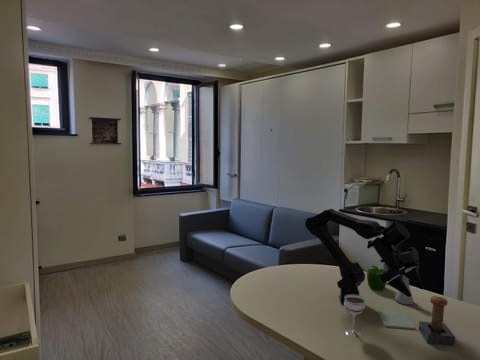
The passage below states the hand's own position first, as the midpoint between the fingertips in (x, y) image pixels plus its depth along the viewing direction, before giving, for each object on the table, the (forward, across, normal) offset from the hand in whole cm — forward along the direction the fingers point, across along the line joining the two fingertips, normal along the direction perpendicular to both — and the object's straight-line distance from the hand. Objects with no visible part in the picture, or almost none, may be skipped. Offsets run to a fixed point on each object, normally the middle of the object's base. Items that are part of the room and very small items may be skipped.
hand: (416, 292), depth 121 cm
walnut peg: (+14, 0, +4) cm, 15 cm away
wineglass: (+1, -19, +18) cm, 26 cm away
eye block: (+14, 0, +4) cm, 15 cm away
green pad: (+5, 0, +14) cm, 14 cm away
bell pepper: (-8, +20, +27) cm, 35 cm away
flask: (+1, +18, +18) cm, 25 cm away
